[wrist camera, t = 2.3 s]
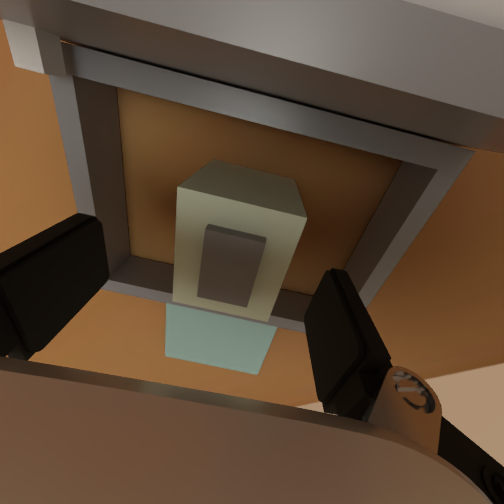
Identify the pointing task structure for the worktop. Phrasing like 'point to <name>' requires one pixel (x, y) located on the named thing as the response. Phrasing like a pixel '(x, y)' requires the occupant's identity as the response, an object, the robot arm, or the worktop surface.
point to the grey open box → (274, 99)
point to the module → (235, 238)
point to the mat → (216, 339)
